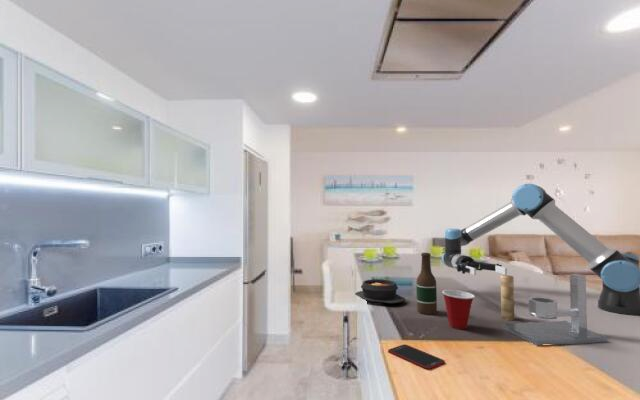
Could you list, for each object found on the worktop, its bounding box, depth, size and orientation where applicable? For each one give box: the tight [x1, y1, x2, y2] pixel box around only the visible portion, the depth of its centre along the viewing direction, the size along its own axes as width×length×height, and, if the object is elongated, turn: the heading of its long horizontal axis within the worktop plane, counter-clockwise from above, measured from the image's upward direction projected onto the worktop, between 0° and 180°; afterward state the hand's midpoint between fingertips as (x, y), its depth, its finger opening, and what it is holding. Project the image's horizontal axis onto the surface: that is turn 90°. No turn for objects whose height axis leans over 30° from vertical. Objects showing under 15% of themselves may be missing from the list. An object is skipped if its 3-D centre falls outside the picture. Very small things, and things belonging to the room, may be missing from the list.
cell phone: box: [387, 344, 446, 371], centre depth 98 cm, size 8×15×1 cm, turn 35°
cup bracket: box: [502, 273, 608, 346], centre depth 115 cm, size 24×16×20 cm, turn 97°
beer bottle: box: [416, 252, 438, 316], centre depth 141 cm, size 8×8×24 cm
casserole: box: [354, 278, 406, 304], centre depth 160 cm, size 25×19×8 cm
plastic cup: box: [442, 289, 475, 330], centre depth 124 cm, size 11×11×12 cm
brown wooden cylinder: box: [500, 274, 515, 321], centre depth 132 cm, size 4×4×16 cm
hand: (490, 271), depth 142 cm, fingers open, 13 cm apart
